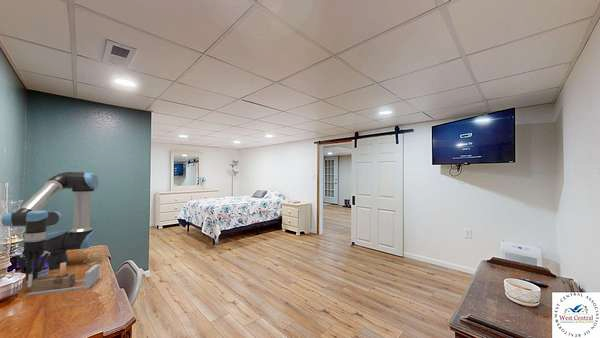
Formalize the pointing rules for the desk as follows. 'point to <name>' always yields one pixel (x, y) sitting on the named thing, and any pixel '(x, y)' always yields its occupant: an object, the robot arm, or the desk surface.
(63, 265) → the dowel
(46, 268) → the bottle
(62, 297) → the desk surface
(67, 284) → the block
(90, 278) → the rail
